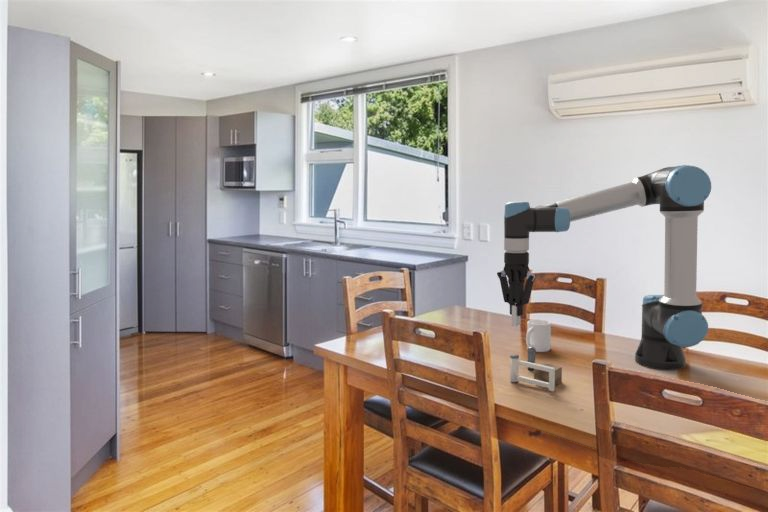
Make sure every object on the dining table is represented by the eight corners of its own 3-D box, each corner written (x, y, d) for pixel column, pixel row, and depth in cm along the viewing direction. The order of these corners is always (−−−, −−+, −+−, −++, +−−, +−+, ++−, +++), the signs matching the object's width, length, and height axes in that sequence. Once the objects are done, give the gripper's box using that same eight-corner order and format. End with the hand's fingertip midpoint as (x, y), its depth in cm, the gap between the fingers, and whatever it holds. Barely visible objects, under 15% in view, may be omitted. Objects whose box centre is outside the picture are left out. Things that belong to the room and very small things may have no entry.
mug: (536, 356, 192) (536, 327, 191) (516, 351, 199) (516, 323, 198) (554, 349, 200) (555, 321, 199) (535, 344, 206) (535, 318, 205)
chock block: (561, 382, 166) (561, 366, 166) (552, 388, 162) (552, 371, 161) (543, 378, 170) (543, 362, 170) (533, 383, 166) (534, 367, 166)
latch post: (537, 369, 179) (537, 346, 178) (533, 371, 177) (533, 348, 176) (529, 367, 181) (529, 345, 180) (525, 369, 179) (525, 347, 178)
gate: (508, 381, 168) (508, 355, 167) (512, 378, 169) (513, 353, 168) (551, 392, 158) (551, 365, 157) (555, 389, 159) (556, 363, 158)
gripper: (541, 251, 167) (540, 326, 170) (504, 249, 176) (504, 320, 179) (529, 253, 162) (528, 331, 165) (492, 251, 171) (491, 324, 174)
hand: (516, 325), depth 172 cm, fingers closed
